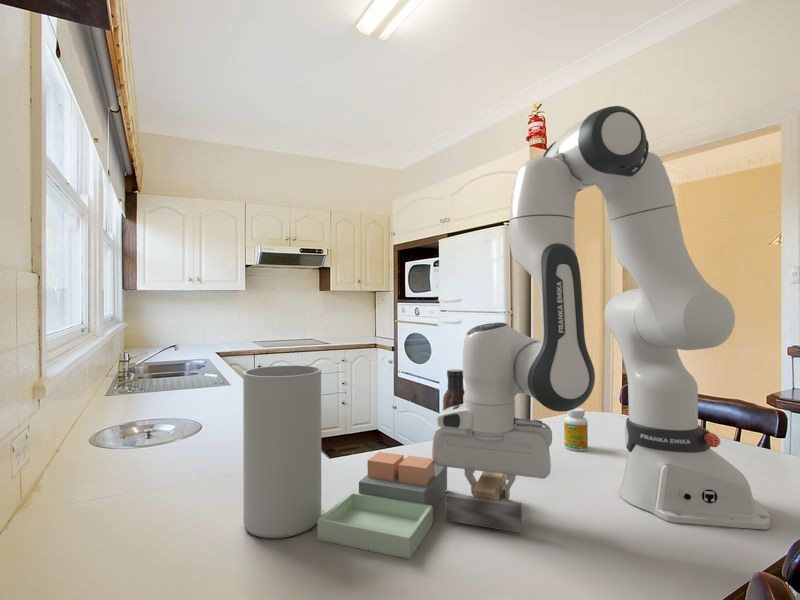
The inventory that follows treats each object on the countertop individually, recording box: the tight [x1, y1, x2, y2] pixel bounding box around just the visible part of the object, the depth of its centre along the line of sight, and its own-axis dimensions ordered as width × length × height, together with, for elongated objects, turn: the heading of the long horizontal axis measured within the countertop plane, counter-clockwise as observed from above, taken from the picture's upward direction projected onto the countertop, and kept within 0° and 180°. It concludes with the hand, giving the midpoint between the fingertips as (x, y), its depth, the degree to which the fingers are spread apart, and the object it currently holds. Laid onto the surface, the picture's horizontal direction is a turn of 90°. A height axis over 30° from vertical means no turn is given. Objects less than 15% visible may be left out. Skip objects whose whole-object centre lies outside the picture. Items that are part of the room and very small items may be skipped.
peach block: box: [399, 455, 435, 486], centre depth 81 cm, size 5×5×3 cm
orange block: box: [367, 451, 404, 481], centre depth 83 cm, size 5×5×3 cm
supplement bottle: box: [563, 407, 589, 452], centre depth 113 cm, size 5×5×10 cm
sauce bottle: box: [442, 368, 465, 411], centre depth 110 cm, size 7×6×20 cm
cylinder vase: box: [242, 364, 322, 539], centre depth 76 cm, size 12×12×25 cm
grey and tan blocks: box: [445, 471, 523, 533], centre depth 79 cm, size 12×13×5 cm
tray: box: [317, 491, 434, 560], centre depth 72 cm, size 15×11×3 cm
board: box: [358, 457, 448, 510], centre depth 84 cm, size 12×14×5 cm
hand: (490, 495), depth 79 cm, fingers closed on grey and tan blocks, 3 cm apart
